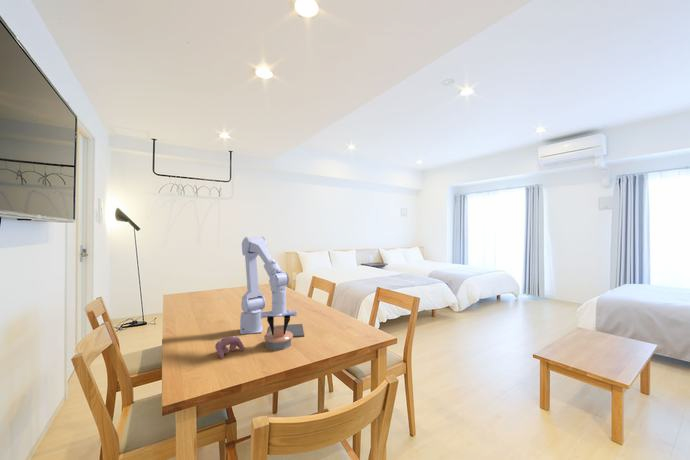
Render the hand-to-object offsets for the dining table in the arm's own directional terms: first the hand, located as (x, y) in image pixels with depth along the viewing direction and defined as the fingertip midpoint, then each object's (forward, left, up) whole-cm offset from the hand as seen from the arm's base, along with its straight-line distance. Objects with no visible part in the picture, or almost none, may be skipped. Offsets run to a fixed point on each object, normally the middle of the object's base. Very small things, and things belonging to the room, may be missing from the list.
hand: (278, 333), depth 120 cm
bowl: (0, 0, -4) cm, 4 cm away
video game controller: (-19, -4, -5) cm, 20 cm away
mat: (+3, +14, -4) cm, 15 cm away
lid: (0, 0, -1) cm, 1 cm away
